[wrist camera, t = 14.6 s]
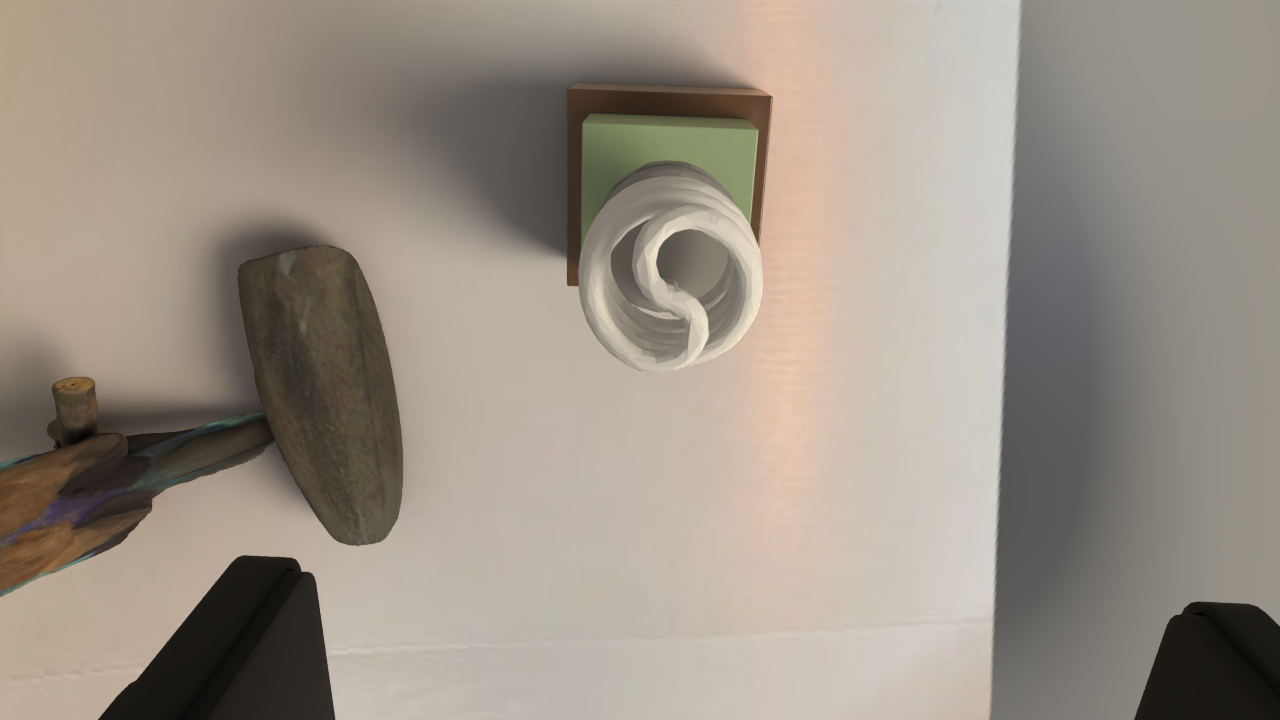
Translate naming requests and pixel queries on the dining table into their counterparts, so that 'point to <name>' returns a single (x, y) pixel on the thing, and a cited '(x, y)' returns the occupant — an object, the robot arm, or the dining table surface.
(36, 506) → the bird figurine
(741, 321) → the light bulb
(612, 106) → the base block
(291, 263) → the decorative stone
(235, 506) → the dining table surface
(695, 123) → the top block
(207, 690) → the robot arm
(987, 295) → the dining table surface
